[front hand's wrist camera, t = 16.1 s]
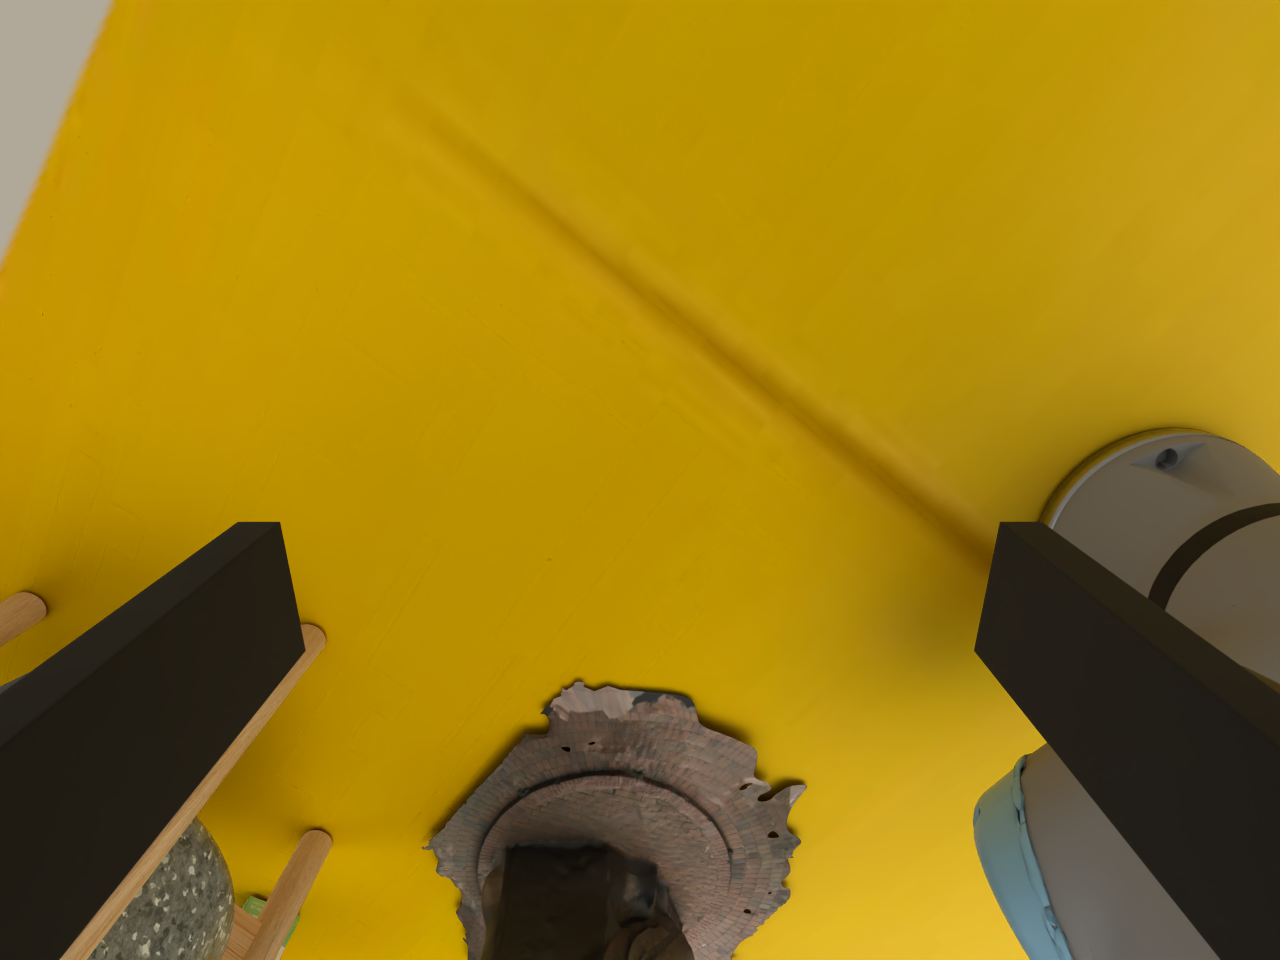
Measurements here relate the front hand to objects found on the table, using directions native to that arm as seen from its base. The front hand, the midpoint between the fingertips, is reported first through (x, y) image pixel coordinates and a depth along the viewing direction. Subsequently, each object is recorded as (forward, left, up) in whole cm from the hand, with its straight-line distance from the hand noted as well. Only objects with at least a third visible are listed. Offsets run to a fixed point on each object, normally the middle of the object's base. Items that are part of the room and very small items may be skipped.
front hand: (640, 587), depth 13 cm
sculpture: (-18, +40, -32) cm, 54 cm away
